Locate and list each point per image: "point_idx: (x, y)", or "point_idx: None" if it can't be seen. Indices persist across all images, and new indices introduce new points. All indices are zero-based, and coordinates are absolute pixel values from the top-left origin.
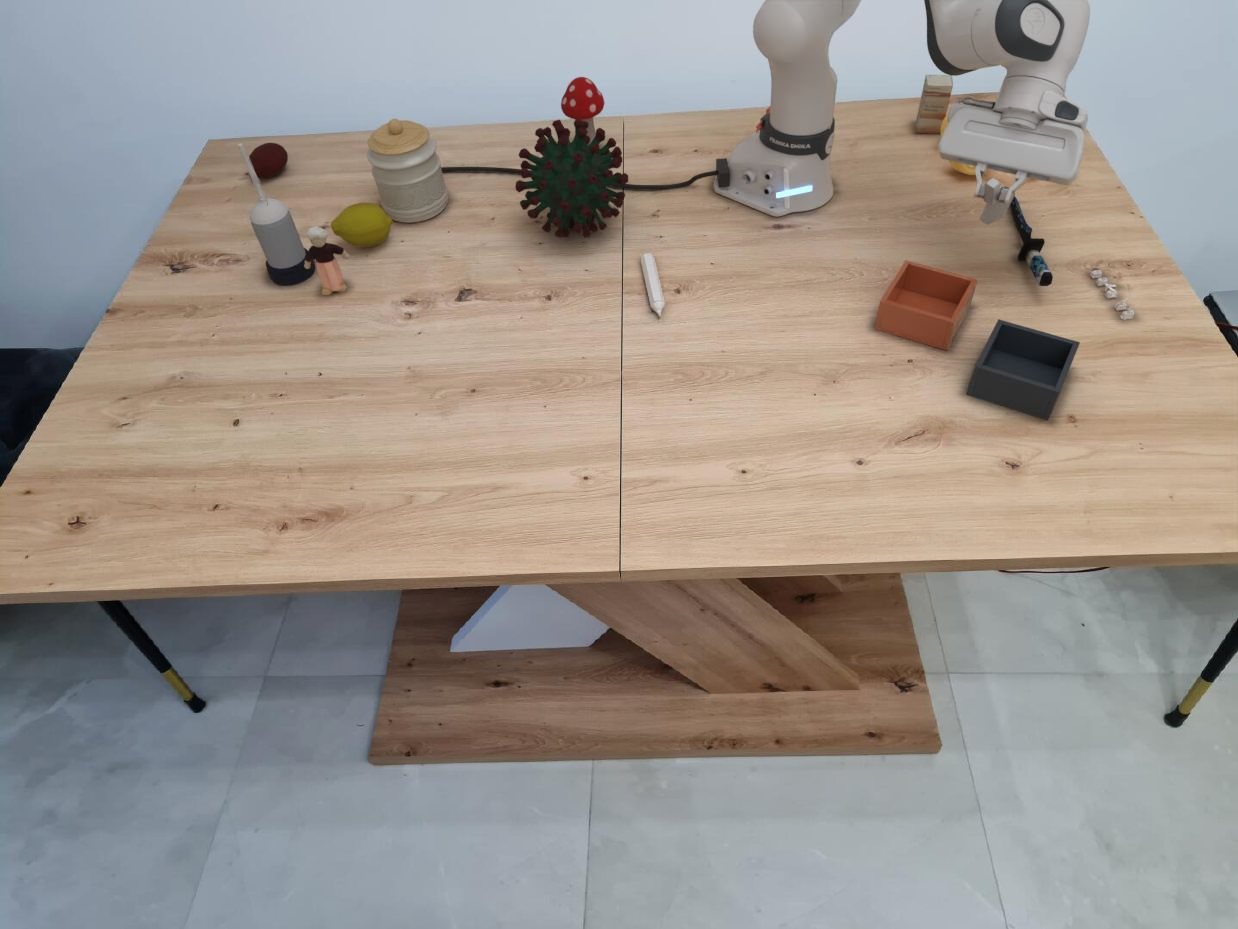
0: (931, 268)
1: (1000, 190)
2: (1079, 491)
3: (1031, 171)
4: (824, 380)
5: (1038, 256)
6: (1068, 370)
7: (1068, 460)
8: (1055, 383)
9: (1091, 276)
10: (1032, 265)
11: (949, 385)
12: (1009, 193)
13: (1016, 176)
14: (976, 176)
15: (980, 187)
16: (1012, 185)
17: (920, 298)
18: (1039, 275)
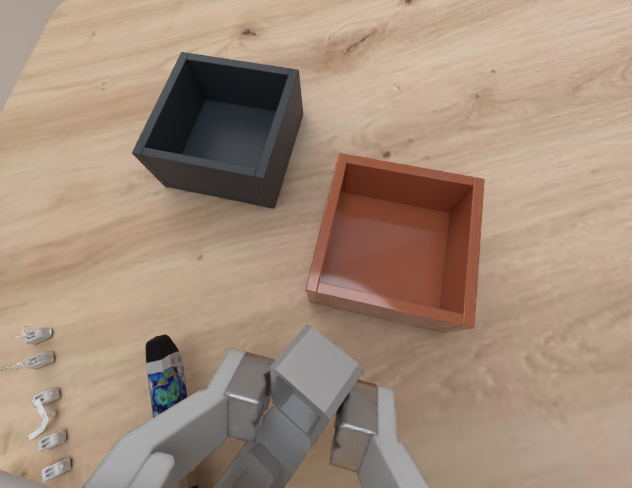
0: (409, 307)
1: (265, 466)
2: (182, 20)
3: (30, 480)
4: (490, 95)
5: None
6: (162, 92)
7: (188, 51)
8: (185, 149)
9: (68, 461)
10: None
11: (326, 124)
12: (222, 374)
13: (163, 469)
14: (423, 479)
15: (374, 413)
16: (201, 412)
17: (400, 298)
18: (174, 367)
